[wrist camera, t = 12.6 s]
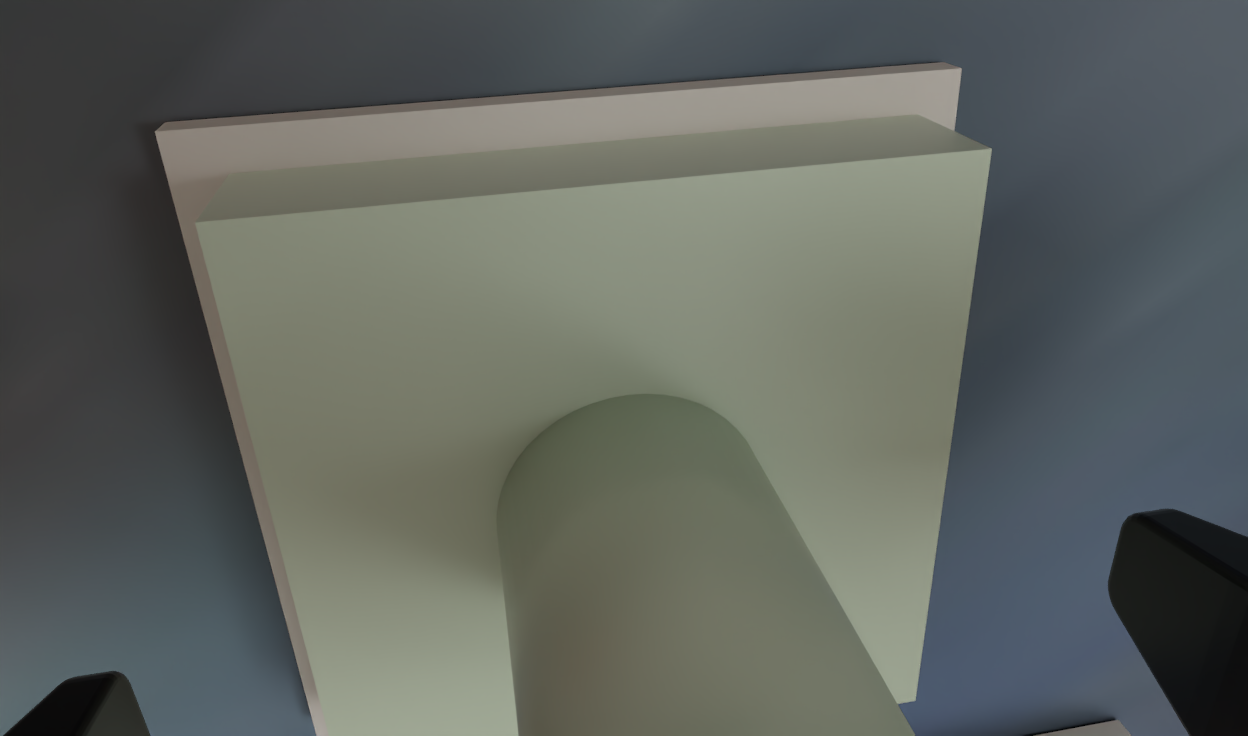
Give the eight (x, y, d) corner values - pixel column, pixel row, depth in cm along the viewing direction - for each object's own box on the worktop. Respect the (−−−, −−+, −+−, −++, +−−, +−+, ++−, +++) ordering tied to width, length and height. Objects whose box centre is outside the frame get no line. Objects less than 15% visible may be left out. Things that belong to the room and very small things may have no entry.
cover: (866, 620, 13) (1117, 1040, 8) (355, 704, 12) (306, 1236, 7) (917, 114, 10) (1373, 326, 5) (228, 173, 9) (-4, 503, 4)
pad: (943, 61, 10) (962, 68, 10) (881, 625, 14) (892, 645, 14) (165, 122, 9) (154, 131, 9) (321, 719, 13) (318, 742, 12)
